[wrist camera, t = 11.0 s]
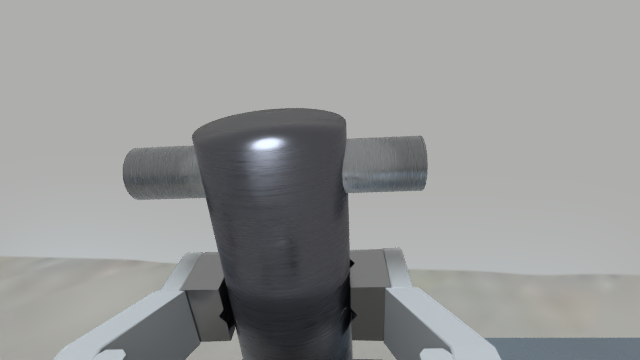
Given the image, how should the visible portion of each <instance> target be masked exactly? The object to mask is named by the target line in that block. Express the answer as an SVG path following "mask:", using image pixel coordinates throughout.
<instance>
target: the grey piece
mask: <svg viewBox="0 0 640 360" xmlns="http://www.w3.org/2000/svg"><path fill="white" fill-rule="evenodd" d="M484 339H485V340H487V341H488V342H489V343H490V344H492V345H493V346H494V347H495V348H496V350H497V352H498V354H499V356H500V358H501V360H640V338H484ZM242 360H243V359H242ZM353 360H371V359H353Z"/></svg>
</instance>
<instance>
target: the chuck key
mask: <svg viewBox="0 0 640 360" xmlns="http://www.w3.org/2000/svg"><path fill="white" fill-rule="evenodd" d="M192 139H193V144H194V146H174V147H151V148H135V149H132V150H131V151H130V152H129V153H128V154H127V156H126V158H125V161H124V164H123V180H124V184H125V187H126V189H127V191H128V192H129V194H130V195H131V196H132V197H133V198H135V199H137V200H150V199H181V198H206V200H207V204H208V209H209V213H210V217H211V222H212V226H213V230H214V235H215V239H216V243H217V248H218V252H219V256H220V261H221V265H222V269H223V274H224V278H225V282H226V287H227V291H228V295H229V300H230V304H231V308H232V313H233V317H234V321H235V326H236V330H237V334H238V339H239V343H240V347H241V352H242V356H243V360H353V359H352V333H351V313H350V276H349V270H350V250H349V215H348V193H362V192H390V191H391V192H393V191H421V190H423V189H424V187H425V184H426V179H427V151H426V146H425V142H424V139H423V137H422V136H403V137H381V138H357V139H346V121H345V119H344V118H343V117H342V116H340V115H338V114H336V113H333V112H328V111H324V110H317V109H304V108H286V109H270V110H261V111H253V112H247V113H242V114H237V115H232V116H228V117H225V118H221V119H218V120H215V121H212V122H210V123H208V124H206V125H204V126H202V127H200V128H198V129H197V130H196V131H195V132H194V133H193V135H192Z"/></svg>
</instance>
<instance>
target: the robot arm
mask: <svg viewBox="0 0 640 360" xmlns="http://www.w3.org/2000/svg"><path fill="white" fill-rule="evenodd" d="M349 276H350V313H351V333H352V340H365V341H384V343H385V345H386V346H387V347H388V349H389V350H390V351H391V353H392V354H393V355H394V356H395V358H396V359H397V360H501V358H500V356H499V354H498V352H497V350H496V348H495V347H494V346H493V345H492V344H490V343H489V342H488V341H487V340H485V339H484V338H483V337H481V336H480V335H479V334H478V333H476V332H475V331H474V330H473V329H471V328H470V327H469V326H467V325H466V324H465V323H464V322H462V321H461V320H460V319H458V318H457V317H456V316H455V315H453V314H452V313H451V312H449V311H448V310H447V309H446V308H444V307H443V306H442V305H441V304H439V303H438V302H437V301H435V300H434V299H433V298H432V297H430V296H429V295H428V294H426V293H425V292H424V291H423V290H421V289H420V288H419V287H413V285H412V282H411V279H410V275H409V272H408V269H407V265H406V262H405V259H404V256H403V252H402V250H401V248H387V249H376V250H375V249H372V250H350V270H349ZM235 327H236V326H235V321H234V317H233V313H232V308H231V304H230V300H229V295H228V291H227V287H226V282H225V278H224V274H223V269H222V265H221V261H220V256H219V252H205V253H201V252H199V253H187V254H185V255H184V256H183V257H182V259H181V261H180V262H179V263H178V265H177V266H176V268H175V269H174V271H173V272H172V274H171V275H170V277H169V278H168V280H167V281H166V283H165V284H164V286H163V287H162V289H161V290H160V291H154V292H153V293H151V294H149V295H148V296H146V297H145V298H143V299H141V300H140V301H138V302H137V303H135V304H133V305H132V306H130V307H129V308H127V309H125V310H124V311H122V312H120V313H119V314H117V315H116V316H114V317H112V318H111V319H109V320H108V321H106V322H104V323H103V324H101V325H100V326H98V327H96V328H95V329H93V330H91V331H90V332H88V333H87V334H85V335H83V336H82V337H80V338H79V339H77V340H75V341H74V342H72V343H71V344H69V345H67V346H66V347H64V348H63V349H62V350H61V351H60V352H59V354H58V355H57V356H56V357H55V358H54V359H53V360H185V359H186V358H187V357H188V356H189V355H190V354H191V353H192V352H193V351H194V350H195V349H196V348H197V347H198V346H199V345H200V342H211V341H231V339H232V336H233V333H234V330H235Z"/></svg>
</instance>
